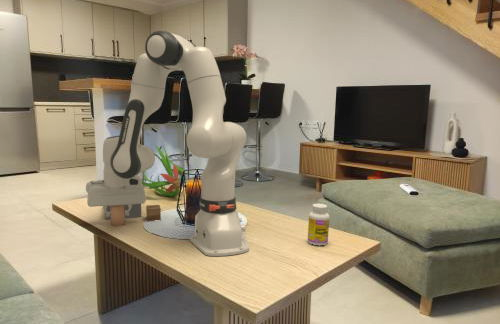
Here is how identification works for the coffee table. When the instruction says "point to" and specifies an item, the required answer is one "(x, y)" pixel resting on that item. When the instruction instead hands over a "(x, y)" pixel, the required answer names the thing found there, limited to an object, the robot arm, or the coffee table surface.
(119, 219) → the terracotta cylinder
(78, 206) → the coffee table surface
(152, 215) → the walnut cube
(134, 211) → the tote
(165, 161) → the decorative plant
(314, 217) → the supplement bottle
